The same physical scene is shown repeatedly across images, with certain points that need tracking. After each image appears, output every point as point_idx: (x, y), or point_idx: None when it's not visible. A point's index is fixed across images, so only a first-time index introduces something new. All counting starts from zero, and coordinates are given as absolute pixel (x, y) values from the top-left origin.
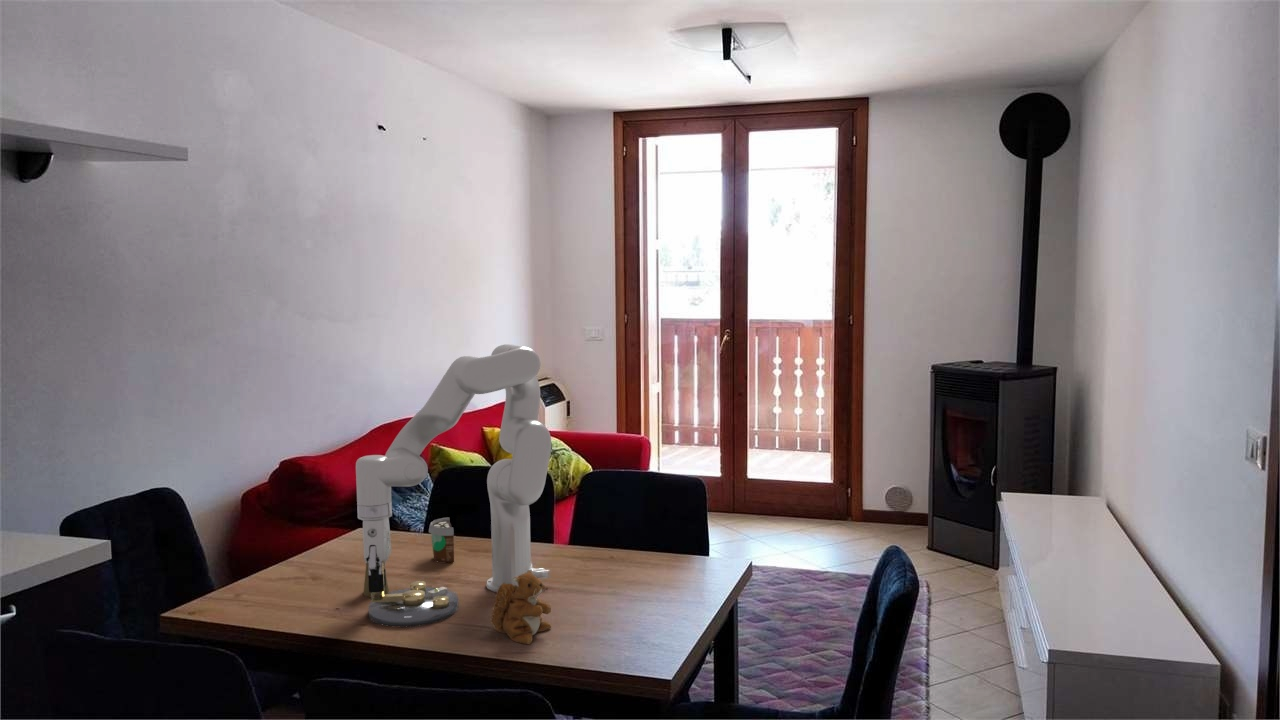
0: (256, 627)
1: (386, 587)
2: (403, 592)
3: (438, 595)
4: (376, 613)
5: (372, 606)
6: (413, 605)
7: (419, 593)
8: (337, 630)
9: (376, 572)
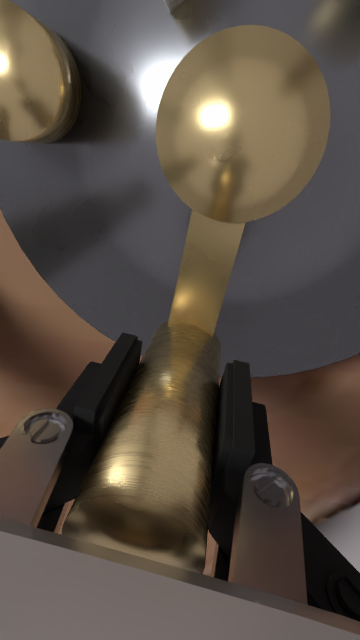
0: None
1: None
2: (46, 189)
3: None
4: (327, 358)
5: None
6: None
7: (264, 82)
8: (320, 460)
9: (327, 553)
